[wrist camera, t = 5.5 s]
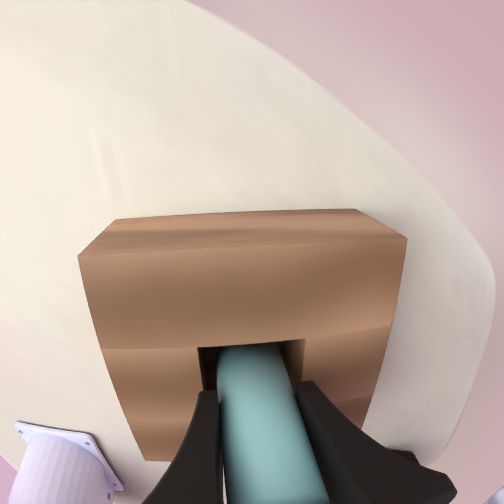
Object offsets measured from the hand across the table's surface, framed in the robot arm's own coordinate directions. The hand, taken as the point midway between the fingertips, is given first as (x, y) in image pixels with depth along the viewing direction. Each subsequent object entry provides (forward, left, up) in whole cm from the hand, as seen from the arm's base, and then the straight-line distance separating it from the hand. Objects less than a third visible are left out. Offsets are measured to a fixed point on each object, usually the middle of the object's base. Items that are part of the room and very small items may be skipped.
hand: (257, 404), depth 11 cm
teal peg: (0, 0, -3) cm, 3 cm away
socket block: (0, 0, -6) cm, 6 cm away
